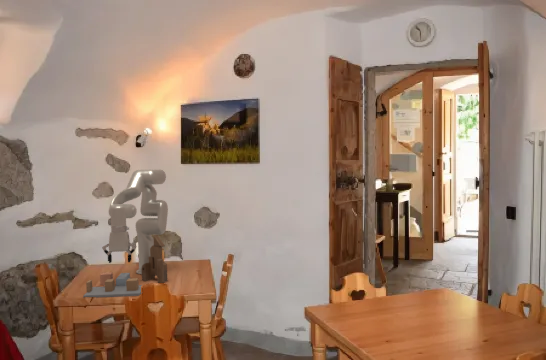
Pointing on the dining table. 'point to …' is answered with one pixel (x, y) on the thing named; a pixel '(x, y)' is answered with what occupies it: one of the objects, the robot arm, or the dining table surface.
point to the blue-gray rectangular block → (122, 279)
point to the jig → (114, 289)
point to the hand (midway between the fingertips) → (119, 262)
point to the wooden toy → (155, 263)
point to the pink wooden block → (105, 277)
